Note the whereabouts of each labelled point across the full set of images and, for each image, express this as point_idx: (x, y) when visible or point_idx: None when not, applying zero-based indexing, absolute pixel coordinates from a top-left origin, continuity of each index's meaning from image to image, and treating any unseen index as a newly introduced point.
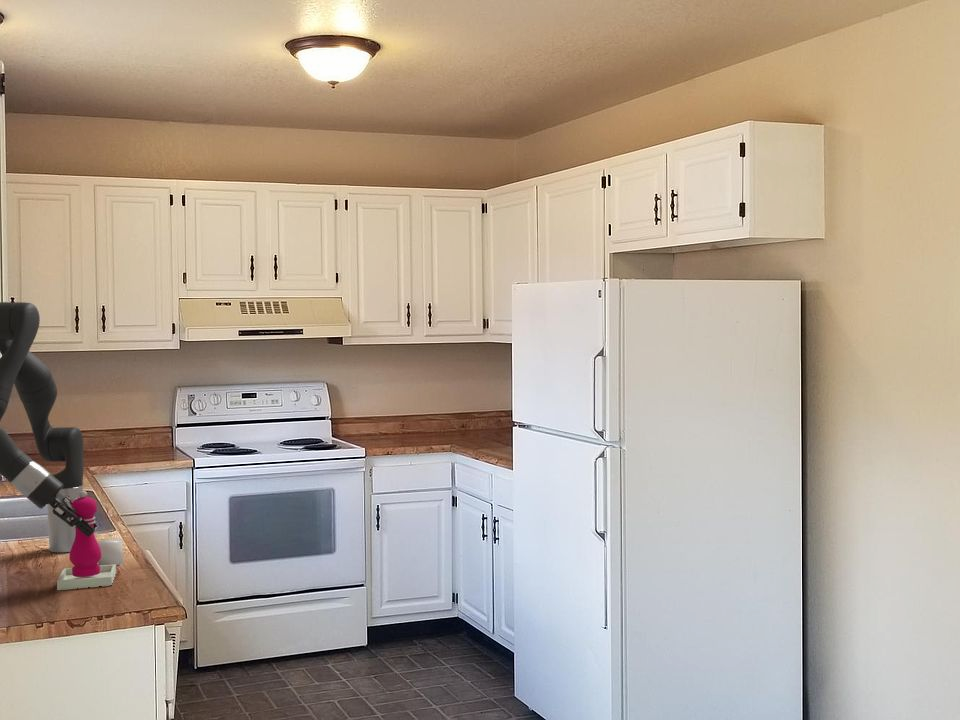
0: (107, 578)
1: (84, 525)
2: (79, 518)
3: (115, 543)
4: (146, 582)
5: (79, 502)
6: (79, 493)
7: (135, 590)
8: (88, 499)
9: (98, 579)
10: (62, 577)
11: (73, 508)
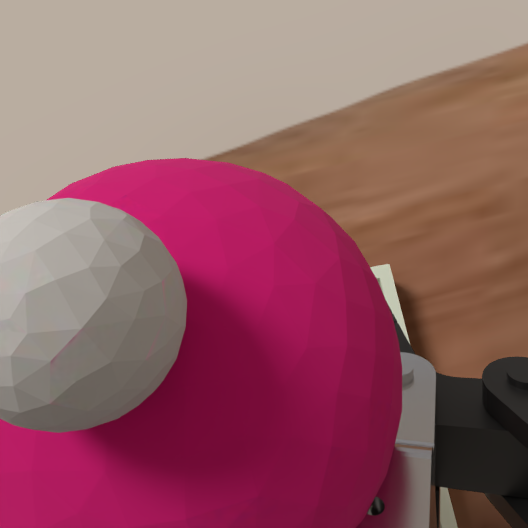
0: (393, 283)
1: (406, 342)
2: (495, 367)
3: None
4: (345, 155)
5: (353, 376)
6: (77, 412)
7: (474, 163)
8: (228, 207)
9: (404, 323)
10: None
11: (428, 496)
